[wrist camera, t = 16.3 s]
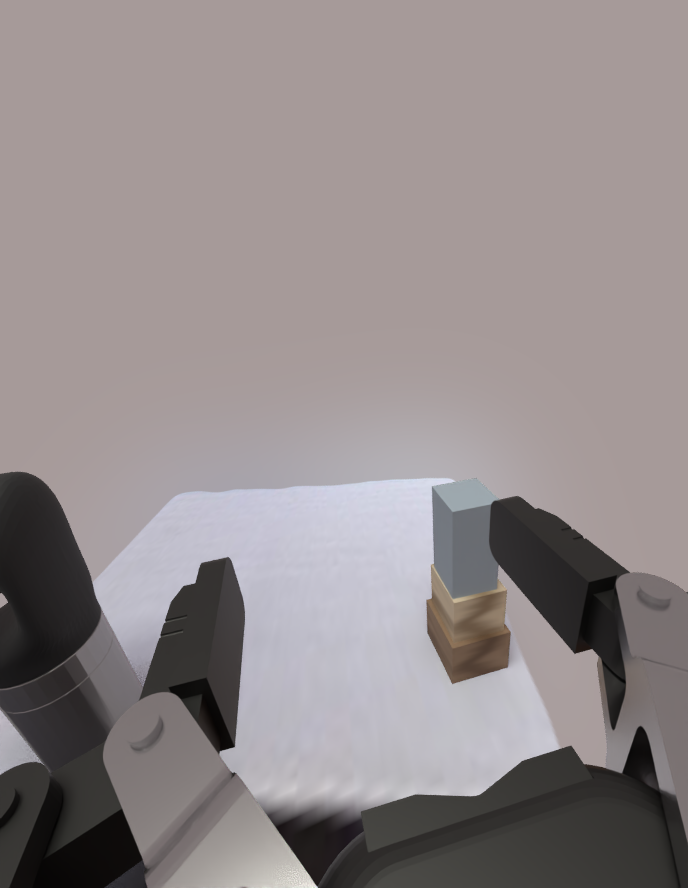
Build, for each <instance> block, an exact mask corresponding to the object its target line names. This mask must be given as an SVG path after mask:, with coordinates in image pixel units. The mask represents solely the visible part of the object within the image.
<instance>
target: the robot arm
mask: <svg viewBox="0 0 688 888" xmlns="http://www.w3.org/2000/svg"><path fill="white" fill-rule="evenodd" d="M489 546H490V550H491V553H492V555H493V557H494V559H495V560H496V562H497V563H498V564H499V565H500V566H501V568H502V569H503V570H504V571H505V572H506V573H507V575H508V576H509V577H510V578H511V579H512V580H513V582H514V583H515V584H516V585H517V586H518V588H519V589H520V590H521V591H522V592H523V593H524V594H525V596H526V597H527V598H528V599H529V601H530V602H531V603H532V604H533V605H534V606H535V608H536V609H537V610H538V611H539V612H540V614H542V616H543V617H544V618H545V619H546V620H547V622H548V623H549V624H550V625H551V626H552V627H553V629H554V630H555V631H556V632H557V633H558V635H559V636H560V637H561V638H562V639H563V640H564V642H565V643H566V644H567V645H568V646H569V647H570V649H571V650H572V651H573V652H574V653H575V654H576V653H579V652H583V651H586V650H590V649H593V650H594V651H595V652H596V654H597V655H598V656H599V658H598V662H597V667H598V676H599V683H600V691H601V699H602V707H603V715H604V723H605V731H606V740H607V755H606V768H603V767H598V766H593V765H587V764H583V762H582V761H581V760H580V758H579V756H578V755H577V753H576V752H575V750H574V749H573V748H572V746H568V747H565V748H562V749H559V750H556V751H553V752H549V753H546V754H543V755H540V756H537V757H533V758H530V759H527V760H524V761H522V762H521V763H519V764H518V765H517V766H516V767H514V768H513V769H512V770H511V771H509V772H508V773H507V774H506V775H504V776H503V777H502V778H501V779H499V780H498V781H497V782H496V783H494V784H493V785H492V786H491V787H489V788H488V789H487V790H486V791H485V792H483V793H482V794H480V795H478V796H443V795H413V796H409V797H406V798H403V799H400V800H397V801H393V802H390V803H387V804H384V805H381V806H378V807H374V808H371V809H368V810H365V811H362V812H361V816H362V821H363V827H364V832H362V833H361V834H360V835H359V836H357V837H356V838H355V839H354V840H352V841H351V842H350V843H349V844H348V845H347V846H346V847H345V848H344V849H343V851H342V852H341V853H340V854H339V855H338V856H337V858H336V859H335V860H334V862H333V863H332V864H331V866H330V867H329V868H328V870H327V872H326V874H325V875H324V877H323V879H322V880H321V882H320V884H319V885H318V887H317V886H316V885H315V883H314V882H313V880H312V879H311V877H310V876H309V875H308V873H307V872H306V870H305V869H304V868H303V866H302V865H301V863H300V862H299V860H298V859H297V858H296V856H295V855H294V853H293V852H292V850H291V849H290V848H289V846H288V845H287V843H286V842H285V841H284V839H283V838H282V836H281V835H280V833H279V832H278V831H277V829H276V828H275V826H274V825H273V824H272V822H271V821H270V819H269V818H268V816H267V815H266V814H265V812H264V811H263V809H262V808H261V806H260V805H259V804H258V802H257V801H256V799H255V798H254V797H253V795H252V794H251V792H250V791H249V789H248V788H247V787H246V785H245V784H244V782H243V781H242V780H241V779H240V777H239V776H238V775H237V774H236V773H235V772H234V773H232V772H231V771H230V770H229V769H228V767H227V766H226V764H225V763H224V761H223V760H222V759H221V757H220V756H219V753H220V751H222V750H226V749H229V748H233V747H235V738H236V725H237V713H238V700H239V687H240V675H241V662H242V650H243V637H244V624H245V609H244V602H243V597H242V594H241V591H240V587H239V584H238V581H237V577H236V574H235V571H234V568H233V564H232V561H231V559H230V558H229V557H227V558H222V559H218V560H213V561H208V562H204V563H201V565H200V568H199V572H198V575H197V579H196V583H195V584H191V585H186V586H183V587H182V589H181V590H180V591H179V593H178V594H177V595H176V596H175V598H174V599H173V600H172V602H171V604H170V607H169V610H168V613H167V616H166V619H165V621H166V622H165V623H164V625H163V628H162V631H161V634H160V635H161V638H159V641H158V644H157V647H156V650H155V653H154V656H153V659H152V662H151V665H150V668H149V671H148V674H147V677H146V681H145V684H144V687H142V685H141V683H140V681H139V679H138V678H137V676H136V674H135V672H134V670H133V668H132V666H131V664H130V662H129V660H128V658H127V656H126V654H125V653H124V651H123V649H122V647H121V645H120V643H119V641H118V639H117V637H116V635H115V633H114V631H113V630H112V628H111V626H110V624H109V622H108V620H107V618H106V617H105V615H104V613H103V611H102V609H101V607H100V605H99V603H98V601H97V599H96V596H95V593H94V588H93V584H92V580H91V576H90V573H89V570H88V568H87V565H86V563H85V561H84V558H83V556H82V554H81V552H80V550H79V547H78V545H77V543H76V541H75V538H74V535H73V533H72V530H71V528H70V526H69V523H68V520H67V518H66V516H65V514H64V511H63V509H62V507H61V505H60V503H59V501H58V500H57V498H56V496H55V495H54V493H53V492H52V491H51V489H50V488H49V487H48V486H47V485H46V484H45V483H44V482H43V481H42V480H40V479H39V478H37V477H36V476H34V475H32V474H29V473H25V472H10V473H4V474H0V593H2V594H3V595H4V596H5V598H6V599H7V601H8V603H7V604H6V605H4V606H3V607H1V608H0V710H1V711H2V712H3V713H4V715H5V716H6V717H7V718H8V720H9V721H10V722H11V724H12V725H13V726H14V727H15V729H16V730H17V731H18V732H19V734H20V735H21V736H22V737H23V739H24V740H25V741H26V743H27V744H28V745H29V746H30V748H31V749H32V750H33V751H34V753H35V754H36V755H37V756H38V758H39V759H40V760H41V762H42V763H43V764H44V765H45V766H44V765H43V764H41V763H37V762H29V763H25V764H21V765H19V766H16V767H14V768H12V769H10V770H8V771H6V772H4V773H3V774H1V775H0V888H104V887H105V886H107V885H108V884H110V883H111V882H112V881H114V880H115V879H117V878H118V877H119V876H121V875H122V874H124V873H125V872H126V871H128V870H129V869H130V868H132V867H133V866H135V865H136V864H137V863H139V862H140V861H142V860H143V861H144V864H145V868H146V870H145V871H144V876H145V880H146V884H147V887H148V888H688V592H685V591H684V590H683V589H681V588H680V587H679V586H677V585H675V584H674V583H672V582H670V581H668V580H665V579H663V578H660V577H658V576H655V575H650V574H645V573H630V572H629V571H627V570H626V569H625V568H624V567H622V566H621V565H620V564H618V563H617V562H616V561H614V560H613V559H612V558H611V557H609V556H608V555H607V554H605V553H604V552H603V551H602V550H600V549H599V548H597V547H596V546H595V545H594V544H592V543H591V542H590V541H589V540H587V539H584V538H583V536H582V535H581V534H579V533H578V532H577V531H576V530H572V529H571V527H570V526H569V525H568V524H566V523H565V522H564V521H562V520H561V519H560V518H559V517H557V516H555V515H553V514H551V513H548V512H546V511H544V510H542V509H539V508H538V509H534V508H533V507H532V506H531V505H530V504H529V503H527V502H526V501H525V500H524V499H522V498H521V497H519V496H515V497H510V498H505V499H501V500H496V501H493V502H492V504H491V510H490V530H489ZM48 770H49V771H48Z"/></svg>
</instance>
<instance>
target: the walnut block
mask: <svg viewBox="0 0 688 888" xmlns="http://www.w3.org/2000/svg"><path fill="white" fill-rule="evenodd" d="M427 628H428V635H429V637H430V639H431V641H432V643H433V645H434V647H435V649H436V651H437V653H438V655H439V657H440V659H441V661H442V663H443V665H444V667H445V670H446V672H447V674H448V676H449V678H450V680H451V682H452V684H453V683H457V682H460V681H463V680H467V679H470V678H473V677H477V676H480V675H484V674H487V673H490V672H494V671H497V670H500V669H504V668H507V667H508V656H509V645H510V634H511V632H510V631H509V629H508V628H507V626H506V625H505V624H504V630H502V631H498V632H495V633H491V634H487V635H483V636H479V637H476V638H472V639H468V640H464V641H461V642H457V643H454V642H453V640H452V639H451V637H450V635H449V633H448V631H447V629H446V627H445V625H444V623H443V622H442V620H441V618H440V616H439V614H438V612H437V610H436V608H435V606H434V604H433V603H432V599H429V600H427Z"/></svg>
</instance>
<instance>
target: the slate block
mask: <svg viewBox="0 0 688 888" xmlns="http://www.w3.org/2000/svg"><path fill="white" fill-rule="evenodd" d="M496 500H500V499H499V498H497V497H496V496H495V495H494V494H493V493H492V492H491V491H490V490H489V489H488V488H487V487H485V485H483V484H482V483H481V482H480V481H479V480H478V479H477V478H474V479H468V480H463V481H459V482H453V483H448V484H442V485H437V486H432V503H433V541H434V568H435V569H436V571H437V573H438V575H439V576H440V578H441V580H442V582H443V583H444V585H445V587H446V589H447V590H448V592H449V594H450V596H451V597H452V599H456V598H461V597H465V596H469V595H474V594H478V593H483V592H487V591H491V590H496V589H497V579H498V563H497V562H496V560H495V559H494V557H493V555H492V553H491V550H490V546H489V530H490V510H491V504H492V502H493V501H496Z"/></svg>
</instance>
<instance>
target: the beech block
mask: <svg viewBox="0 0 688 888" xmlns="http://www.w3.org/2000/svg"><path fill="white" fill-rule="evenodd" d="M431 583H432V603H433V604H434V606H435V608H436V610H437V612H438V614H439V616H440V618H441V620H442V622H443V623H444V625H445V627H446V629H447V631H448V633H449V635H450V637H451V639H452V640H453V642H454V643H457V642H461V641H464V640H468V639H472V638H476V637H479V636H483V635H487V634H491V633H495V632H498V631H502V630H504V621H505V609H506V596H507V595H506V594H507V590H506V588H505V587H504V586H503V585H502V583H501V582H500V581H499V580H498V579H497V589H496V590H491V591H487V592H483V593H478V594H474V595H469V596H465V597H461V598H456V599H452V597H451V596H450V594H449V592H448V590H447V589H446V587H445V585H444V583H443V582H442V580H441V578H440V576H439V575H438V573H437V571H436V569H435V568H434V564H432V565H431Z"/></svg>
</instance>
